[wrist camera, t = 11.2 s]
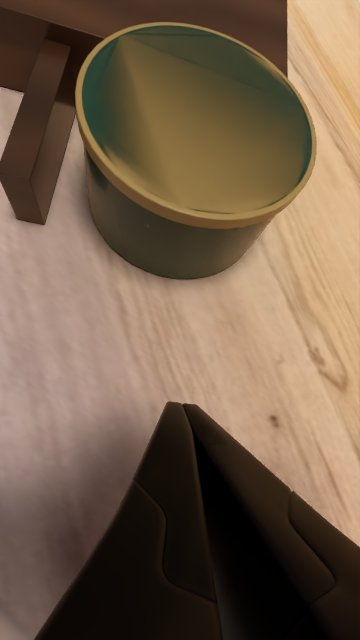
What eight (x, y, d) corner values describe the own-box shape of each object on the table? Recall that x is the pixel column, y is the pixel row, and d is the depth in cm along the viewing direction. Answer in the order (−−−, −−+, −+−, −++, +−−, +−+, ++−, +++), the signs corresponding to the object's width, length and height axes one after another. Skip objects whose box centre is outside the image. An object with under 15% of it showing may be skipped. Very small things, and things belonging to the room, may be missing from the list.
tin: (217, 316, 20) (268, 268, 14) (46, 218, 20) (16, 121, 13) (281, 186, 25) (343, 103, 18) (142, 103, 24) (155, -13, 18)
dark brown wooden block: (250, 266, 22) (288, 226, 17) (-146, 186, 18) (-234, 105, 13) (260, -4, 32) (287, -77, 27) (2, -97, 28) (-20, -202, 23)
